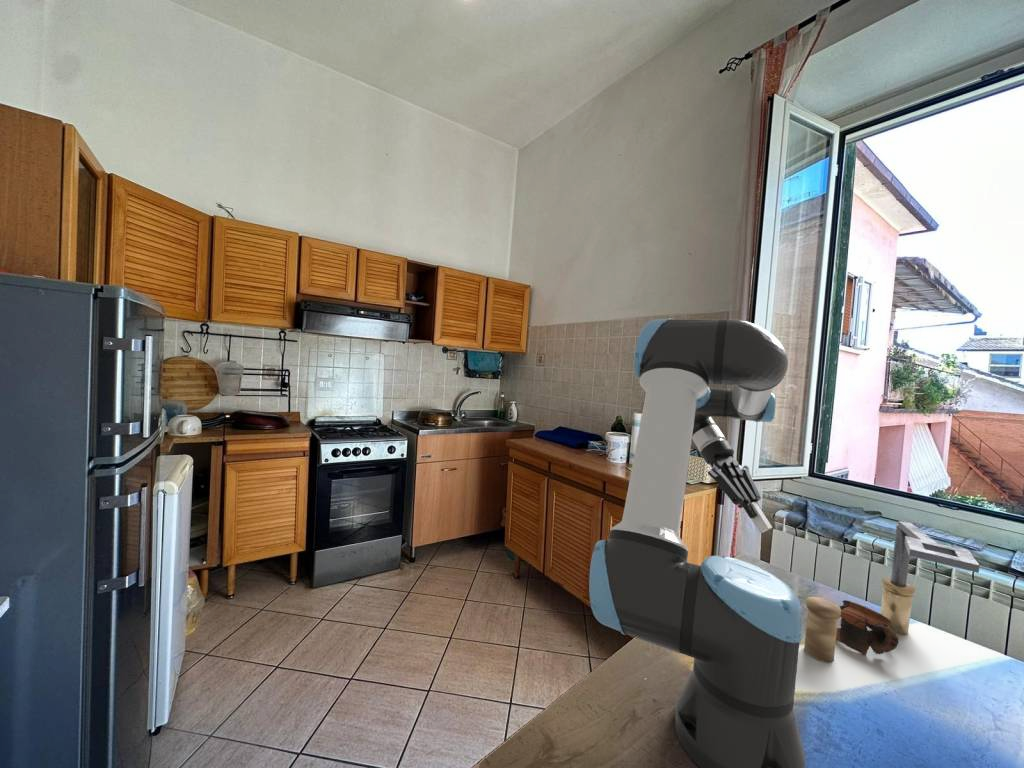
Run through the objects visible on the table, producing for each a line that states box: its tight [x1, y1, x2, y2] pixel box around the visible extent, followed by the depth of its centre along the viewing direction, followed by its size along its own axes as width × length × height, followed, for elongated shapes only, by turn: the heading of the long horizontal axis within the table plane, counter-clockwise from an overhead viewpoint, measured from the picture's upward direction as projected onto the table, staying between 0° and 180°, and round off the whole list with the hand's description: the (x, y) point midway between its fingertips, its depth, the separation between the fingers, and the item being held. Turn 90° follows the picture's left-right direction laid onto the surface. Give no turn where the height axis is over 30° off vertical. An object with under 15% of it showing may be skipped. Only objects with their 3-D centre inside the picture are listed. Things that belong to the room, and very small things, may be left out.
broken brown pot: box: [836, 599, 900, 656], centre depth 80 cm, size 12×10×8 cm
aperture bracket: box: [880, 520, 980, 636], centre depth 78 cm, size 10×22×22 cm, turn 141°
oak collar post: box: [803, 596, 841, 663], centre depth 76 cm, size 5×5×9 cm
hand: (766, 530), depth 99 cm, fingers closed
